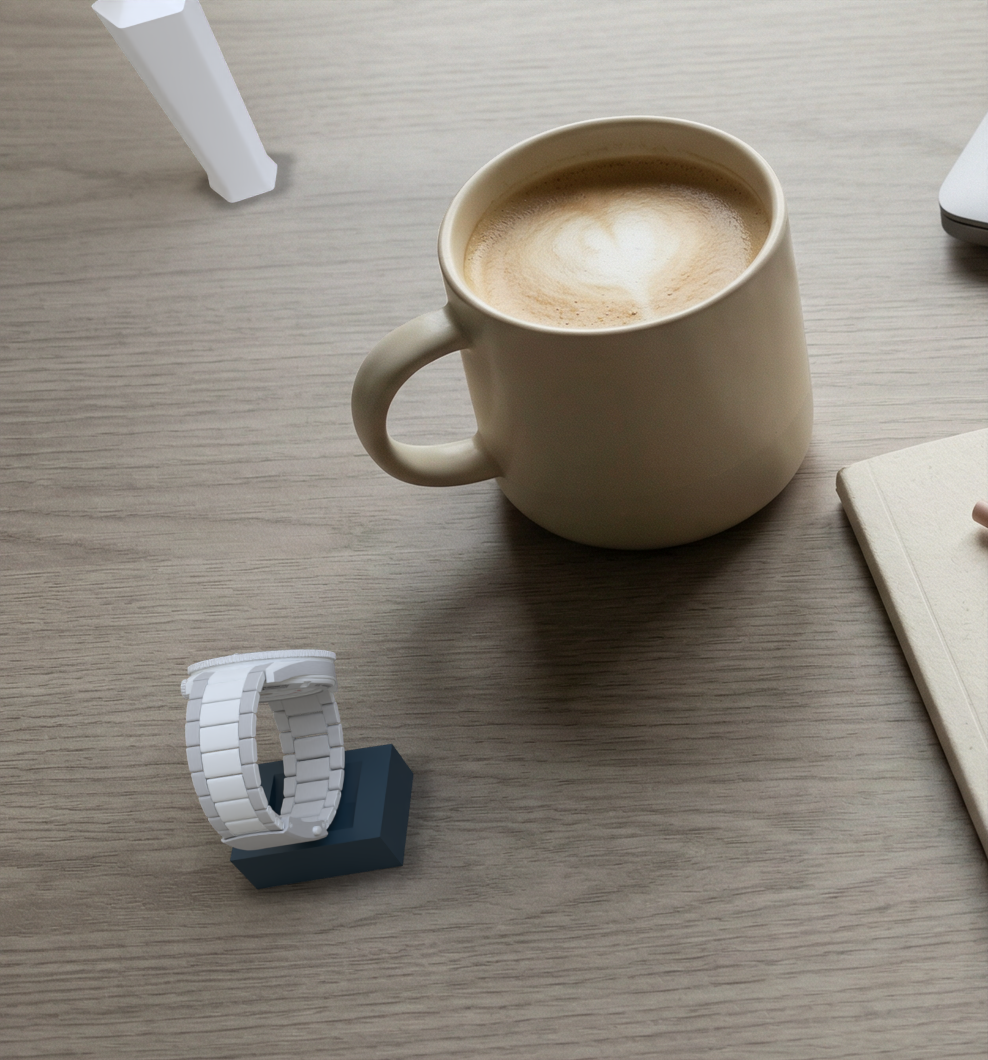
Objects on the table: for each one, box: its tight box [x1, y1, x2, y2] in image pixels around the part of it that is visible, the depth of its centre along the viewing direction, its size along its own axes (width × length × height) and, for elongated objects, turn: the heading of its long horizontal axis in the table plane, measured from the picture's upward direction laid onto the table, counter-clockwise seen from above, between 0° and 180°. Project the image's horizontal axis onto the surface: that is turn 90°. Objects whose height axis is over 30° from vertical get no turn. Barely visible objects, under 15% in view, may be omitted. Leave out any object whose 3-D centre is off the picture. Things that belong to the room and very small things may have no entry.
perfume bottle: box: [91, 0, 278, 204], centre depth 89 cm, size 5×4×15 cm
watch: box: [180, 648, 415, 890], centre depth 65 cm, size 6×8×11 cm
